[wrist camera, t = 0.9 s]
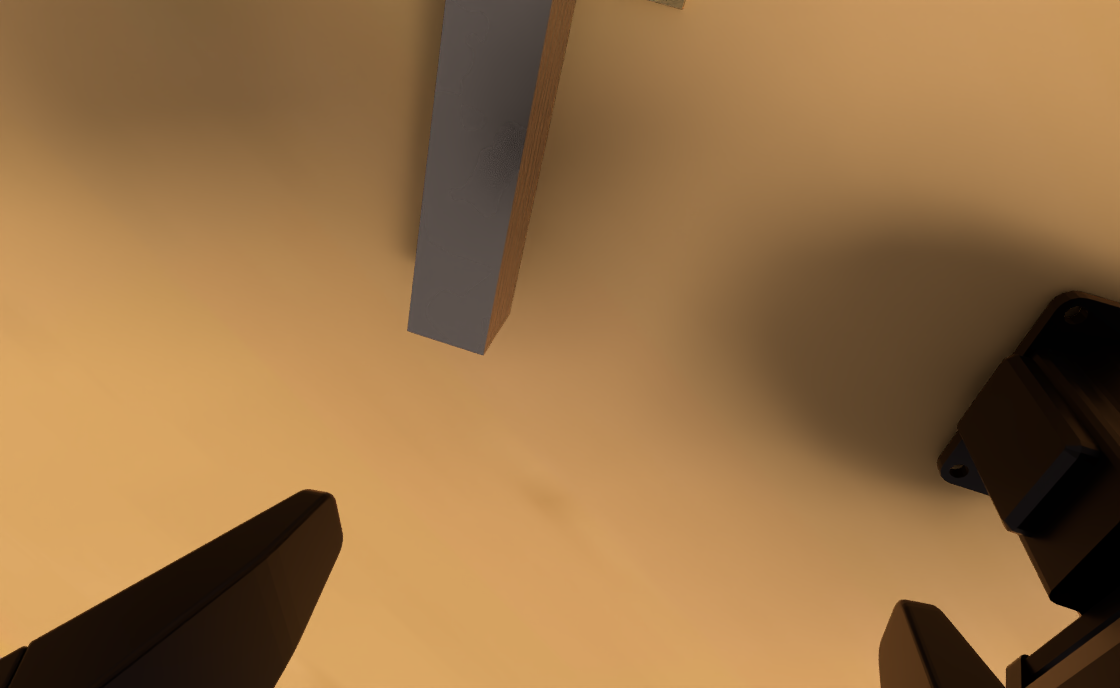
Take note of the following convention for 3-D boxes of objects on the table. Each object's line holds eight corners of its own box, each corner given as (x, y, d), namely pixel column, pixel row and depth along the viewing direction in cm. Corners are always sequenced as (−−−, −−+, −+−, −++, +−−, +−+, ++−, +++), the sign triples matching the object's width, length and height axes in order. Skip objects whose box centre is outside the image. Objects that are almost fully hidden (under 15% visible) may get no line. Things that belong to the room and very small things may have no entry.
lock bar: (490, -342, 13) (438, -406, 11) (687, -295, 13) (678, -351, 10) (416, 280, 20) (376, 321, 18) (539, 319, 20) (514, 365, 18)
